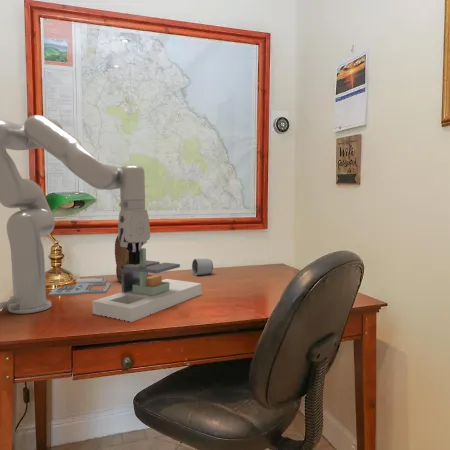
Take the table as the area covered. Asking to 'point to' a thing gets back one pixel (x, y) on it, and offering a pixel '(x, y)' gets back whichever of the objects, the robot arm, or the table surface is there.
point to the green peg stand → (142, 285)
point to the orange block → (153, 280)
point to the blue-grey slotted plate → (82, 287)
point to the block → (120, 258)
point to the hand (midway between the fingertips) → (134, 263)
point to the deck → (145, 301)
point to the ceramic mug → (202, 266)
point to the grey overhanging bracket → (132, 272)
